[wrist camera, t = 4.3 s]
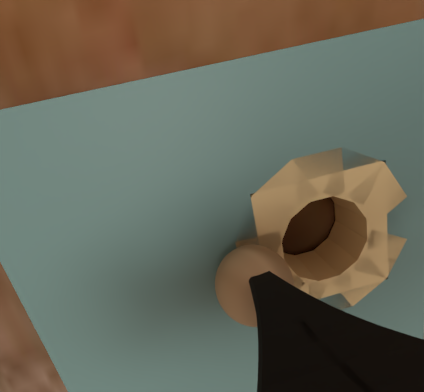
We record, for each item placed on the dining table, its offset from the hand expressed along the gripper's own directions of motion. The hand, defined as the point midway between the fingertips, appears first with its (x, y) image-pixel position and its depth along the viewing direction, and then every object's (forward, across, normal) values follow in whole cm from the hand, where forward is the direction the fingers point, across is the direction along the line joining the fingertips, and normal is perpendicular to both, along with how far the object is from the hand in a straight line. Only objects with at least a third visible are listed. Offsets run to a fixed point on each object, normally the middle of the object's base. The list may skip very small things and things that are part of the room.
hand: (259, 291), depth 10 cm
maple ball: (0, 0, 0) cm, 0 cm away
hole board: (+4, 0, 0) cm, 4 cm away
